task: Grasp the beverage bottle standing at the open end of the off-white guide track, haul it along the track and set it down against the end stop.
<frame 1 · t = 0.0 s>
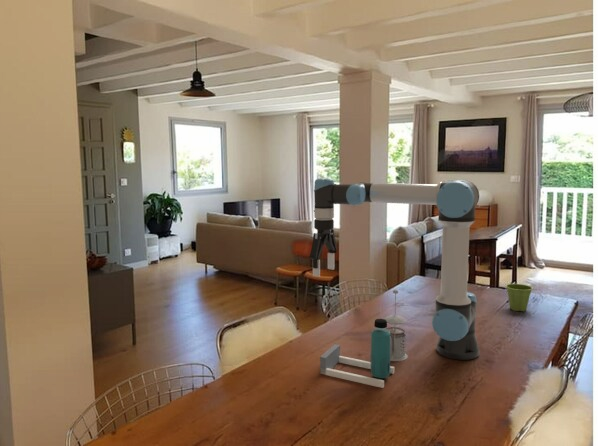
hand: (323, 272, 184), 28 cm above the table, fingers open, 13 cm apart
plant pot: (517, 309, 226), on the table
guide track: (357, 373, 159), on the table
beverage bottle: (380, 378, 155), on the table
french press: (393, 357, 172), on the table
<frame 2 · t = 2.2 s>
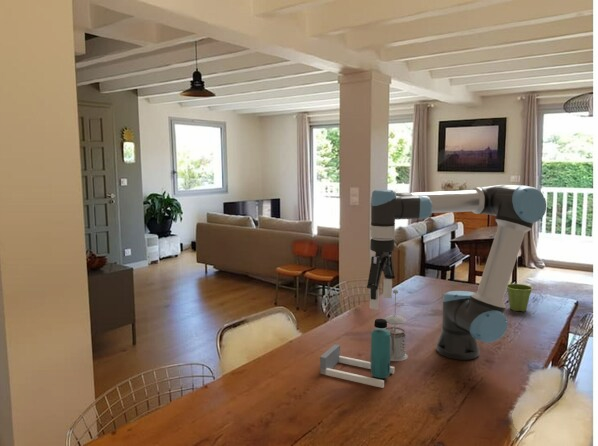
hand: (380, 303, 152), 26 cm above the table, fingers open, 13 cm apart
nothing on the table moved.
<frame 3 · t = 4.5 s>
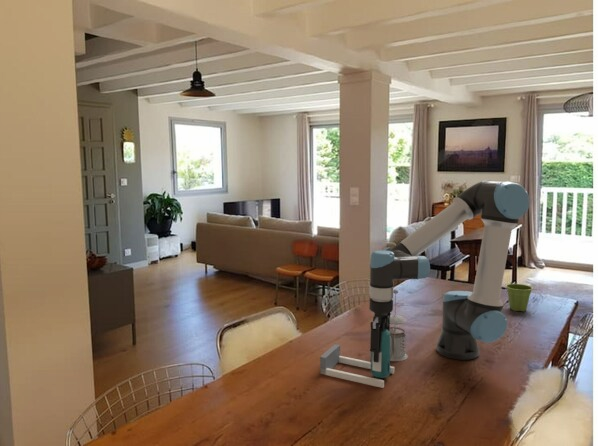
hand: (379, 366, 154), 4 cm above the table, fingers closed on beverage bottle, 5 cm apart
beverage bottle: (380, 378, 155), on the table, touching gripper
everything else where it was.
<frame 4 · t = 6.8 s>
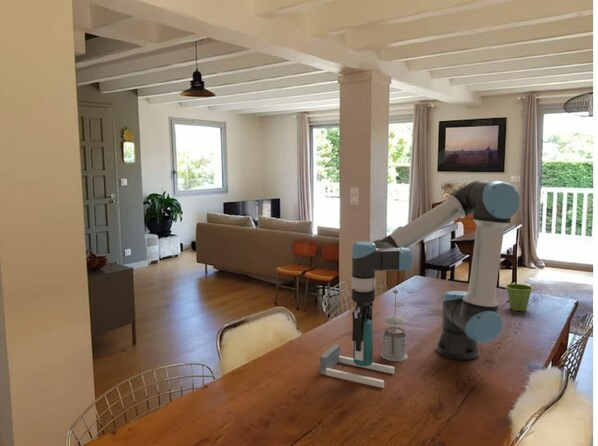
hand: (362, 356, 157), 6 cm above the table, fingers closed on beverage bottle, 5 cm apart
beverage bottle: (362, 367, 158), point 2 cm above the table, touching gripper
everything else where it was.
when the fingers open (5 cm above the table, at t = 8.7 s): beverage bottle stays where it is, on the table.
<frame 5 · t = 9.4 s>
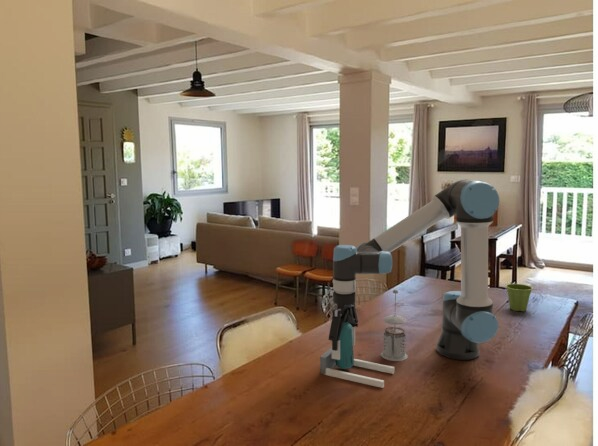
hand: (343, 351, 160), 7 cm above the table, fingers open, 13 cm apart
beverage bottle: (344, 368, 162), on the table
everything else where it was.
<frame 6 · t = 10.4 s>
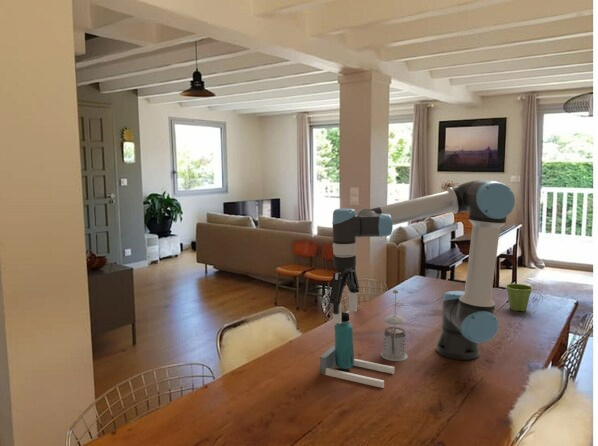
hand: (345, 316, 159), 19 cm above the table, fingers open, 13 cm apart
nothing on the table moved.
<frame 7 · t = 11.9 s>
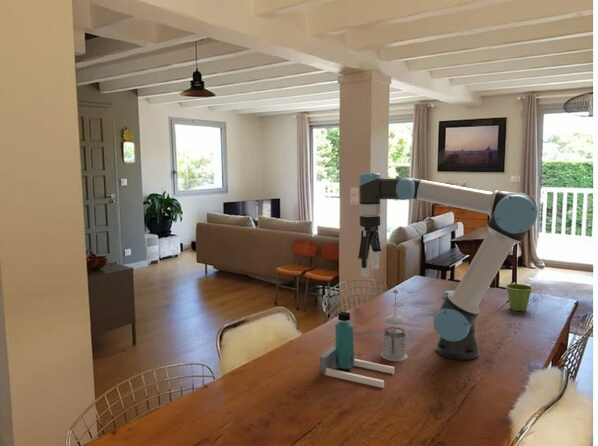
hand: (370, 272, 174), 30 cm above the table, fingers open, 13 cm apart
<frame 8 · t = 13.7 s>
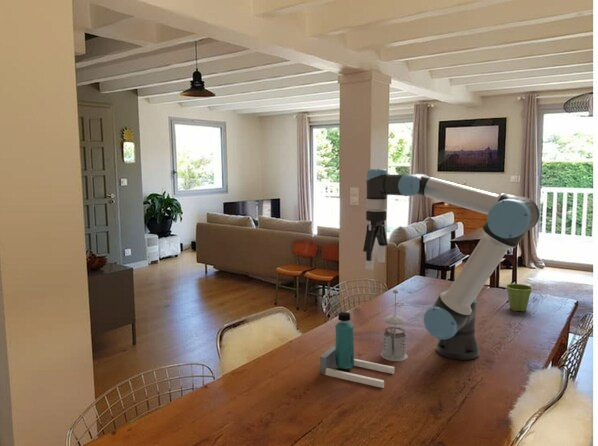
hand: (375, 265, 179), 32 cm above the table, fingers open, 13 cm apart
at the end: beverage bottle 1.0 cm from the target spot on the guide track, point 0.0 cm above the guide track's base; beverage bottle tilted 0°; the gripper is holding nothing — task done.
